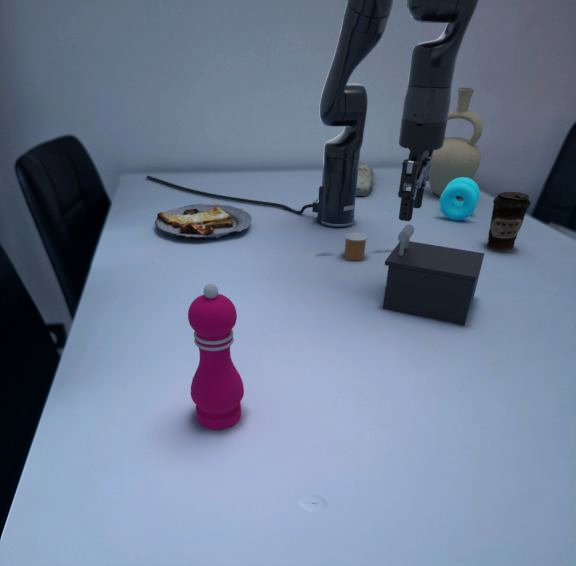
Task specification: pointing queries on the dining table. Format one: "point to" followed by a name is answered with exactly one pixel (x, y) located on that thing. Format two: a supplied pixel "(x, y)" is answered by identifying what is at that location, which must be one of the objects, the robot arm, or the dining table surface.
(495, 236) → the coffee cup
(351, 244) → the coffee pod
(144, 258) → the dining table surface
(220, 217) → the food plate
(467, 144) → the vase
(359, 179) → the long grey stone
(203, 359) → the pepper mill
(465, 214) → the donuts
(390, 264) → the lid
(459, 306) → the dark hinged chest
